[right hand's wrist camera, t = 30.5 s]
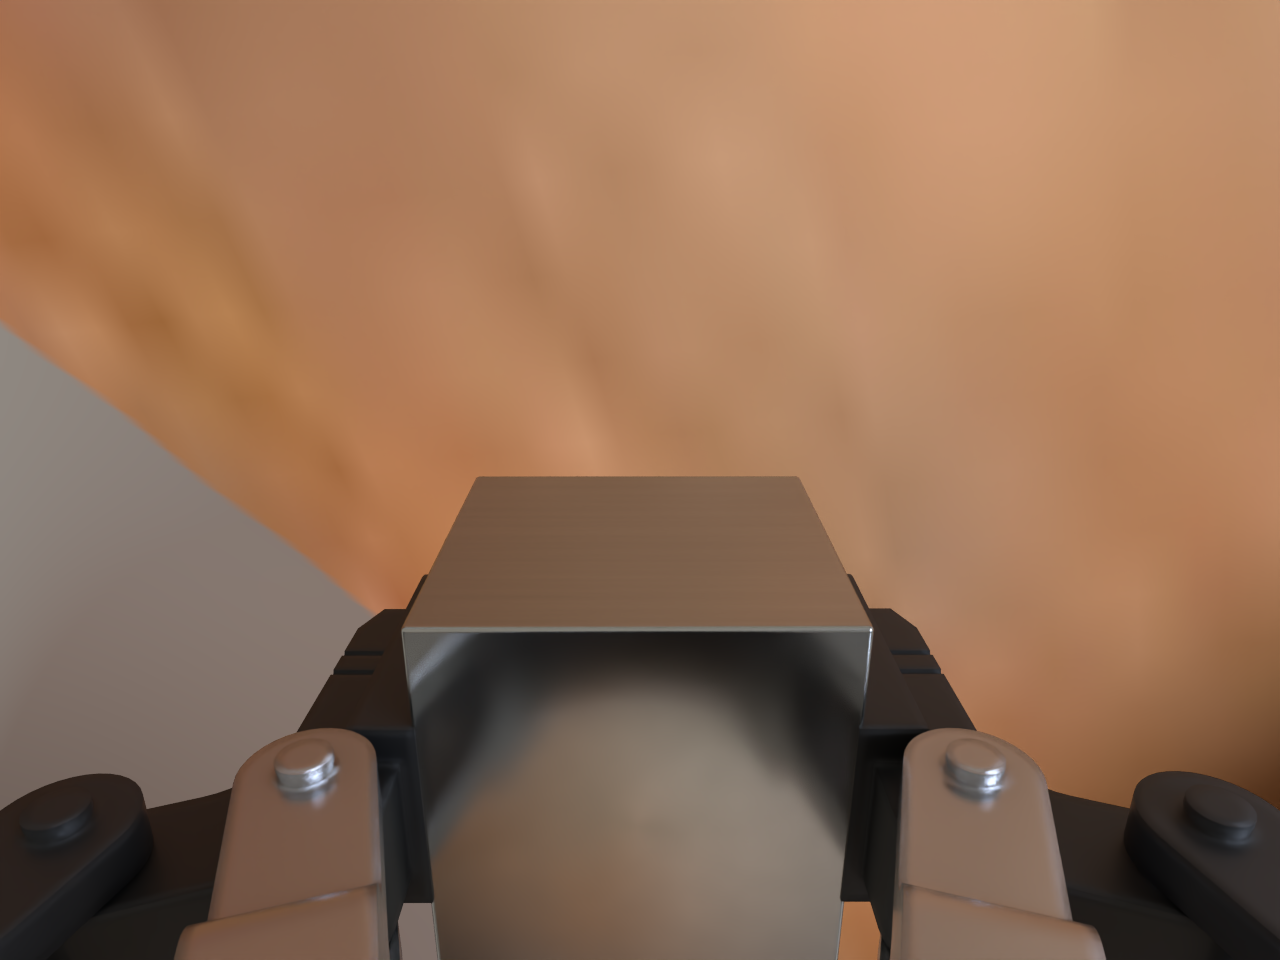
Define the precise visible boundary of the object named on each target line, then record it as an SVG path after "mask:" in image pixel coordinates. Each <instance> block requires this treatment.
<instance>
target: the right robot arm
mask: <svg viewBox="0 0 1280 960" xmlns="http://www.w3.org/2000/svg"><path fill="white" fill-rule="evenodd" d="M847 575H848V577H849V579H850V582H851V584H852V586H853V588H854V590H855V592H856V594H857V596H858V598H859V600H860V602H861V604H862V606H863V608H864V610H865V612H866V614H867V616H868V618H869V620H870V622H871V624H872V626H873V628H874V635H873V644H872V653H871V662H870V671H869V680H868V689H867V698H866V708H865V717H864V725H863V726H862V727H859V731H858V741H857V750H856V759H855V769H854V778H853V787H852V797H851V806H850V815H849V824H848V834H847V843H846V852H845V862H844V871H843V880H842V889H841V899H840V900H841V902H871V905H872V909H873V912H874V915H875V919H876V922H877V925H878V928H879V931H880V941H879V949H878V960H1280V811H1279V810H1278V809H1276V808H1275V807H1274V806H1272V805H1271V804H1269V803H1268V802H1266V801H1265V800H1263V799H1262V798H1260V797H1258V796H1257V795H1255V794H1253V793H1251V792H1249V791H1247V790H1245V789H1243V788H1241V787H1239V786H1236V785H1234V784H1232V783H1229V782H1226V781H1223V780H1221V779H1218V778H1214V777H1210V776H1207V775H1202V774H1197V773H1192V772H1181V771H1166V772H1160V773H1155V774H1152V775H1149V776H1147V777H1145V778H1144V779H1142V780H1141V781H1140V782H1139V783H1138V784H1137V786H1136V788H1135V791H1134V794H1133V798H1132V802H1131V806H1130V809H1129V808H1124V807H1120V806H1115V805H1111V804H1106V803H1101V802H1097V801H1092V800H1087V799H1083V798H1078V797H1074V796H1069V795H1065V794H1062V793H1058V792H1055V791H1052V790H1049V789H1048V787H1047V783H1046V780H1045V777H1044V774H1043V773H1042V771H1041V769H1040V768H1039V766H1038V765H1037V764H1036V763H1035V762H1034V761H1033V760H1032V759H1031V758H1030V757H1029V756H1028V755H1027V754H1026V753H1024V752H1023V751H1021V750H1020V749H1018V748H1017V747H1016V746H1014V745H1012V744H1010V743H1008V742H1006V741H1004V740H1002V739H1000V738H997V737H995V736H992V735H989V734H986V733H983V732H979V731H977V730H976V729H975V727H974V725H973V723H972V722H971V720H970V718H969V717H968V715H967V713H966V711H965V710H964V708H963V706H962V705H961V703H960V701H959V699H958V698H957V696H956V694H955V693H954V691H953V689H952V687H951V686H950V684H949V682H948V681H947V679H946V677H945V675H944V674H941V669H940V667H939V665H938V663H937V662H936V660H935V658H934V657H933V655H930V650H929V648H928V646H927V645H926V643H925V641H924V639H923V638H922V636H921V634H920V633H919V631H918V629H917V628H916V627H915V626H913V625H912V624H911V623H909V622H908V621H907V620H905V619H904V618H903V617H901V616H900V615H899V614H897V613H896V612H894V611H893V610H892V609H869V608H868V606H867V604H866V602H865V600H864V598H863V596H862V594H861V592H860V590H859V588H858V586H857V584H856V582H855V580H854V578H853V576H852V575H851V574H847ZM427 576H428V575H424V576H423V577H422V579H421V581H420V583H419V585H418V587H417V588H416V590H415V592H414V594H413V596H412V598H411V600H410V602H409V604H408V606H407V608H406V609H384V610H383V611H382V612H380V613H379V614H377V615H376V616H375V617H373V618H372V619H371V620H369V621H368V622H367V623H365V624H364V625H362V626H361V627H360V628H358V630H357V631H356V633H355V635H354V636H353V638H352V640H351V642H350V643H349V645H348V646H347V648H346V650H345V655H344V656H342V657H341V658H340V660H339V662H338V663H337V665H336V667H335V668H334V674H333V675H330V677H329V679H328V680H327V682H326V684H325V685H324V687H323V689H322V690H321V692H320V694H319V695H318V697H317V699H316V701H315V702H314V704H313V706H312V707H311V709H310V711H309V712H308V714H307V716H306V717H305V719H304V721H303V723H302V724H301V726H300V728H299V729H298V731H297V733H294V734H291V735H288V736H285V737H283V738H280V739H278V740H276V741H274V742H272V743H270V744H268V745H266V746H264V747H263V748H261V749H260V750H259V751H257V752H256V753H254V754H253V755H252V756H251V757H250V758H249V759H248V760H247V761H246V762H245V763H244V764H243V765H242V766H241V768H240V769H239V771H238V773H237V774H236V776H235V779H234V782H233V787H232V788H231V789H228V790H225V791H222V792H219V793H217V794H213V795H209V796H205V797H201V798H196V799H192V800H187V801H183V802H178V803H173V804H169V805H164V806H160V807H155V808H150V809H146V805H145V801H144V797H143V794H142V791H141V789H140V787H139V786H138V785H137V784H136V783H135V782H134V781H132V780H131V779H129V778H126V777H123V776H121V775H114V774H89V775H82V776H77V777H72V778H68V779H65V780H61V781H57V782H55V783H52V784H49V785H46V786H44V787H41V788H39V789H37V790H35V791H32V792H30V793H28V794H27V795H25V796H23V797H21V798H19V799H17V800H16V801H14V802H13V803H11V804H10V805H8V806H7V807H5V808H4V809H2V810H1V811H0V960H402V949H401V942H400V934H399V926H398V919H399V916H400V912H401V909H402V906H403V903H433V902H434V895H433V886H432V877H431V868H430V859H429V850H428V841H427V832H426V823H425V814H424V805H423V796H422V787H421V778H420V769H419V760H418V751H417V742H416V733H415V728H414V727H412V725H411V716H410V707H409V699H408V690H407V681H406V672H405V663H404V654H403V645H402V636H401V629H402V626H403V624H404V622H405V620H406V618H407V616H408V614H409V612H410V610H411V608H412V606H413V604H414V602H415V600H416V598H417V596H418V594H419V592H420V590H421V588H422V586H423V584H424V582H425V580H426V578H427Z"/></svg>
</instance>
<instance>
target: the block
mask: <svg viewBox="0 0 1280 960" xmlns="http://www.w3.org/2000/svg"><path fill="white" fill-rule="evenodd" d="M873 635H874V628H873V626H872V624H871V622H870V620H869V618H868V616H867V614H866V612H865V610H864V608H863V606H862V604H861V602H860V600H859V598H858V596H857V594H856V592H855V590H854V588H853V586H852V584H851V582H850V579H849V577H848V575H847V573H846V571H845V569H844V567H843V565H842V563H841V561H840V559H839V557H838V555H837V553H836V551H835V549H834V547H833V545H832V543H831V541H830V539H829V537H828V535H827V533H826V531H825V529H824V527H823V525H822V523H821V521H820V519H819V517H818V515H817V513H816V511H815V509H814V507H813V505H812V503H811V501H810V499H809V497H808V495H807V493H806V491H805V489H804V487H803V485H802V483H801V481H800V479H799V477H796V476H734V477H477V478H476V480H475V482H474V484H473V486H472V488H471V490H470V492H469V494H468V496H467V498H466V500H465V502H464V504H463V506H462V508H461V510H460V512H459V514H458V516H457V518H456V520H455V522H454V524H453V526H452V528H451V530H450V532H449V534H448V536H447V538H446V540H445V542H444V544H443V546H442V548H441V550H440V552H439V554H438V556H437V558H436V560H435V562H434V564H433V566H432V568H431V570H430V572H429V574H428V576H427V578H426V580H425V582H424V584H423V586H422V588H421V590H420V592H419V594H418V596H417V598H416V600H415V602H414V604H413V606H412V608H411V610H410V612H409V614H408V616H407V618H406V620H405V622H404V624H403V626H402V629H401V636H402V645H403V654H404V663H405V672H406V681H407V690H408V699H409V707H410V716H411V725H412V727H414V728H415V733H416V742H417V751H418V760H419V769H420V778H421V787H422V796H423V805H424V814H425V823H426V832H427V841H428V850H429V859H430V868H431V877H432V886H433V895H434V902H433V903H431V904H432V913H433V922H434V931H435V940H436V949H437V957H438V960H838V953H839V944H840V935H841V926H842V917H843V908H844V902H841V900H840V899H841V889H842V880H843V871H844V862H845V852H846V843H847V834H848V824H849V815H850V806H851V797H852V787H853V778H854V769H855V759H856V750H857V741H858V731H859V727H862V726H863V725H864V717H865V708H866V698H867V689H868V680H869V671H870V662H871V653H872V644H873Z"/></svg>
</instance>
